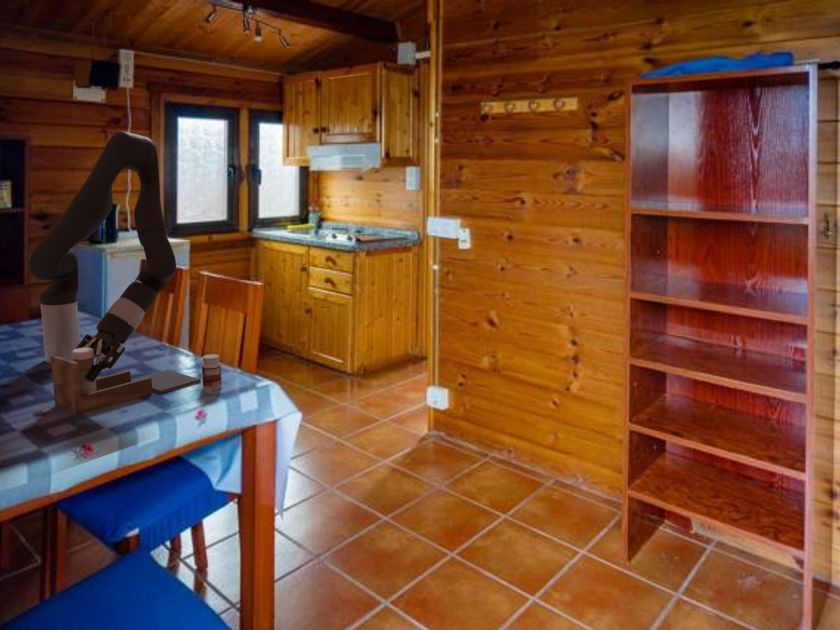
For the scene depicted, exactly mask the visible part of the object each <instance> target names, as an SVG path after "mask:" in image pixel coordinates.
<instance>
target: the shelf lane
mask: <svg viewBox="0 0 840 630" xmlns="http://www.w3.org/2000/svg"><path fill="white" fill-rule="evenodd" d="M50 365H51V375H52V384H53V395H54V405H55V406H56V405H57V406H56V407H58V406H60V407H59V408H61V407H62V408H61V409H64V408H65V409H64V410H66V409H67V410H66V411H69V410H70V411H69V412H71V411H72V412H71V413H73V414H76V413H77V415H81V413H82V414H85V413H88V412H87V411H89V412H92V411H95V410H94V409H96V410H98V408H99V409H102V408H101V407H103V408H106V407H109V405H110V406H113V405H116V404H120V403H122V402H123V403H124V402H127V401H130V400H133V399H136V398H141V397H143V396H148V395H151V394H153V391H152V378H150V377H148V378H144V379H140V380H136V381H133V382H131V379H132V375H131V371H130V370H126V371H122V372H117V373H114V374H113V373H112V374H108V375H105V376H102V377H97V378H96V389H97V390H96V391H95V392H91V393H87V394H83V395H81V387H80V375H79V364H78V362H74V361H71V360H68V359H65V358H62V357H59V356H55V355H54V356H51V364H50ZM105 406H106V407H105ZM91 410H92V411H91ZM84 412H85V413H84Z"/></svg>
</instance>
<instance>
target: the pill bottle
mask: <svg viewBox="0 0 840 630" xmlns="http://www.w3.org/2000/svg"><path fill="white" fill-rule="evenodd" d="M201 376H202V388H203V390H206V391H207V390H208V391H215V389H216V390H220V388H222V386H223V381H222V380H223V379H222V363H220V355H219V354H214V353H211V354H205V355H203V356H202V364H201Z"/></svg>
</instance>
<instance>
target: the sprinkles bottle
mask: <svg viewBox="0 0 840 630" xmlns="http://www.w3.org/2000/svg"><path fill="white" fill-rule="evenodd" d="M72 357H73V360H74V362H78V364H79V375H80V387H81V395H83V394H87V393H91V392H95V391H96V390H97V389H96V379H95V380H94V382H89V381H88V380H86V379H85V375H86V374H87V373H88V371H89V370H90V369H91V367H92V366H93V365H95V357H94V350H93V349H92V348H78V349H74V350H73V351H72Z"/></svg>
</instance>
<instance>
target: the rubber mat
mask: <svg viewBox="0 0 840 630" xmlns="http://www.w3.org/2000/svg"><path fill="white" fill-rule="evenodd" d="M148 377H150V378H152V392H155V393H157V394H165V393H168V392H171V391H175V390H178V389H181V388H185V387H187V386H191V385H195V384H199V383H202V382H201V379H200V378H197V377H195V376H190V375H188V374H185V373H184V374H183V373H180V372H177V371H173V370H169V369H165V370H162V371H158V372H153V373H149V374H146V375H142V376H138V377H135V378H131V382H133V381H136V380H140V379H144V378H148Z"/></svg>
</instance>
